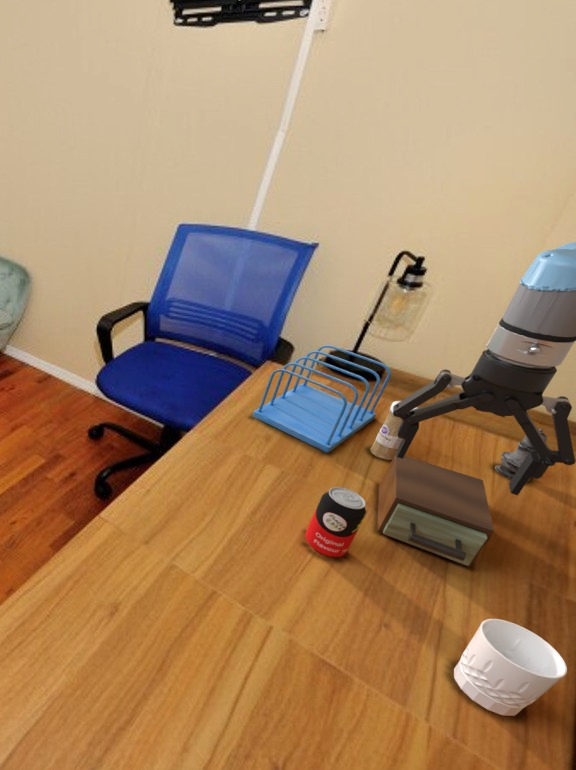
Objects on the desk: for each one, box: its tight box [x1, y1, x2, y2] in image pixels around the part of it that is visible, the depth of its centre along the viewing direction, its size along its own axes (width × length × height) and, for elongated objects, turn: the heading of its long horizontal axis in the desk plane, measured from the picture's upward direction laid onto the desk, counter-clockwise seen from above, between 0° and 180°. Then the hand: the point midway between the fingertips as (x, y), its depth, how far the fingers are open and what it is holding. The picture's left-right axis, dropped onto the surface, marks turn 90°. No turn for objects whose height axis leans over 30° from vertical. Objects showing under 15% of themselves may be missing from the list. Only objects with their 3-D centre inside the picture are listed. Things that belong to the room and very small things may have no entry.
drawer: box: [382, 503, 487, 567], centre depth 93 cm, size 19×12×7 cm, turn 141°
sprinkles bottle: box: [369, 400, 419, 461], centre depth 112 cm, size 5×5×14 cm
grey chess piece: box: [494, 428, 548, 483], centre depth 106 cm, size 6×6×12 cm
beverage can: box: [304, 486, 367, 558], centre depth 90 cm, size 6×6×12 cm
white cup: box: [453, 618, 568, 717], centre depth 68 cm, size 8×8×10 cm
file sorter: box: [252, 344, 392, 454], centre depth 124 cm, size 25×17×15 cm
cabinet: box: [376, 453, 495, 568], centre depth 95 cm, size 16×13×9 cm
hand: (453, 471), depth 83 cm, fingers open, 13 cm apart
